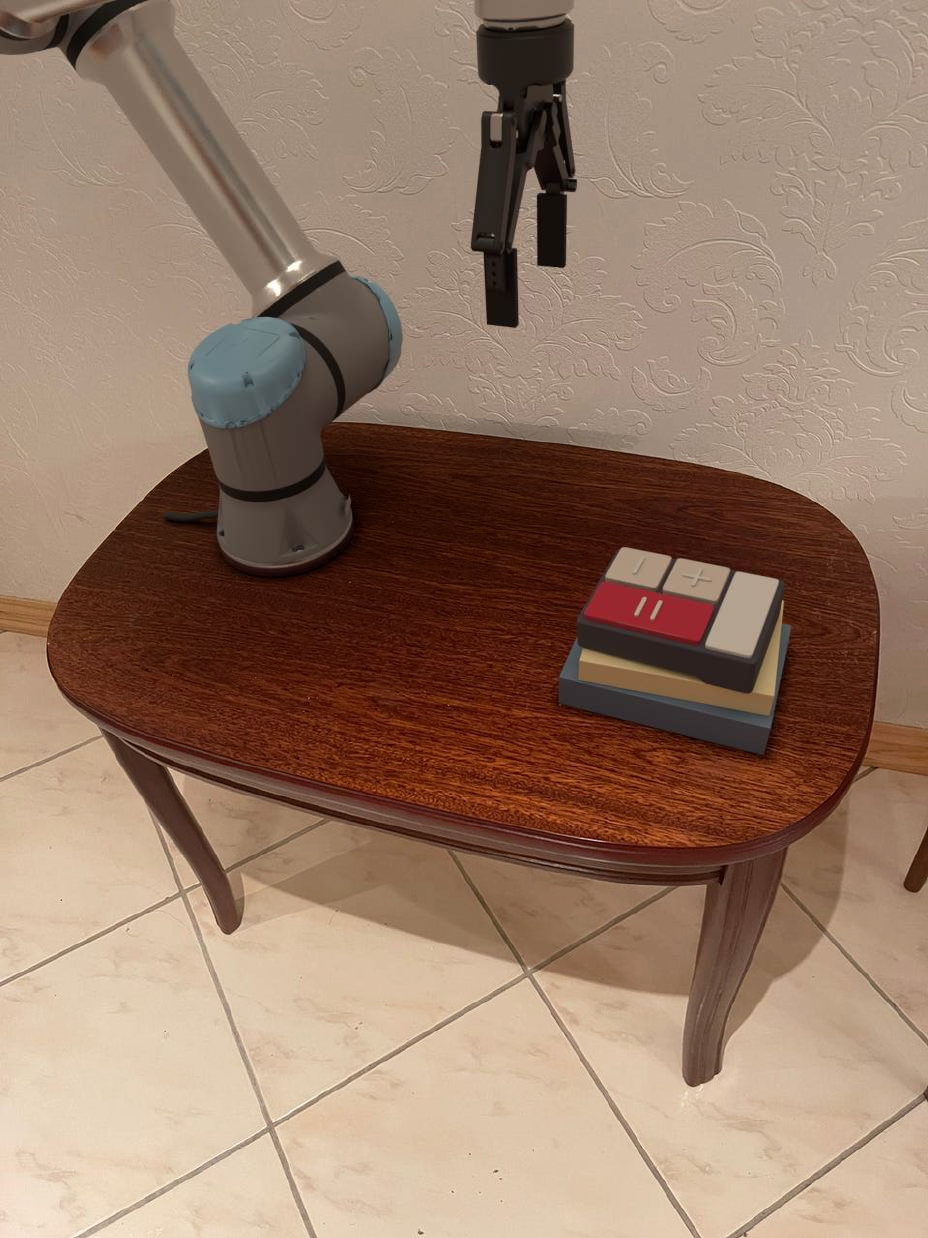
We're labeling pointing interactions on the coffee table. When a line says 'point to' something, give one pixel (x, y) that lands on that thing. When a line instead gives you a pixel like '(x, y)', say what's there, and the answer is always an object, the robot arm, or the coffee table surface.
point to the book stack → (677, 695)
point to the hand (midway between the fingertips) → (528, 293)
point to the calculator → (683, 617)
